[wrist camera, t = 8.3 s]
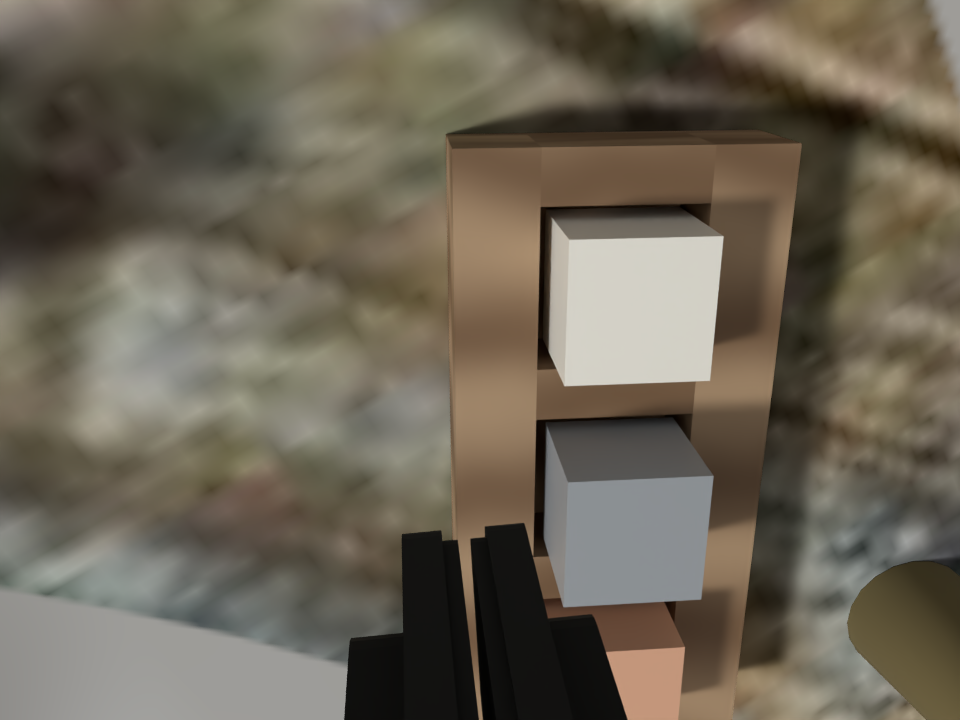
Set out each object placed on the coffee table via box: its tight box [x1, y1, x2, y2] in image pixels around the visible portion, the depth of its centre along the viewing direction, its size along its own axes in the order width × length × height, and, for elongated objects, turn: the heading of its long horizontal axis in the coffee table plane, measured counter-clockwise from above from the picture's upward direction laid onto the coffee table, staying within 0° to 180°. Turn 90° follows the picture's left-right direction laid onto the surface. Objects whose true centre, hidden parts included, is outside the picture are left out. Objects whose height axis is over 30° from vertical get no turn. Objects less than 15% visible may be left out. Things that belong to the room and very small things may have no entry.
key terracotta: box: [544, 598, 685, 720], centre depth 37 cm, size 5×5×5 cm
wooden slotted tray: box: [446, 130, 802, 720], centre depth 37 cm, size 26×12×4 cm, turn 0°
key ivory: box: [543, 207, 724, 386], centre depth 32 cm, size 5×5×5 cm
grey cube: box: [543, 417, 713, 607], centre depth 34 cm, size 5×5×5 cm
